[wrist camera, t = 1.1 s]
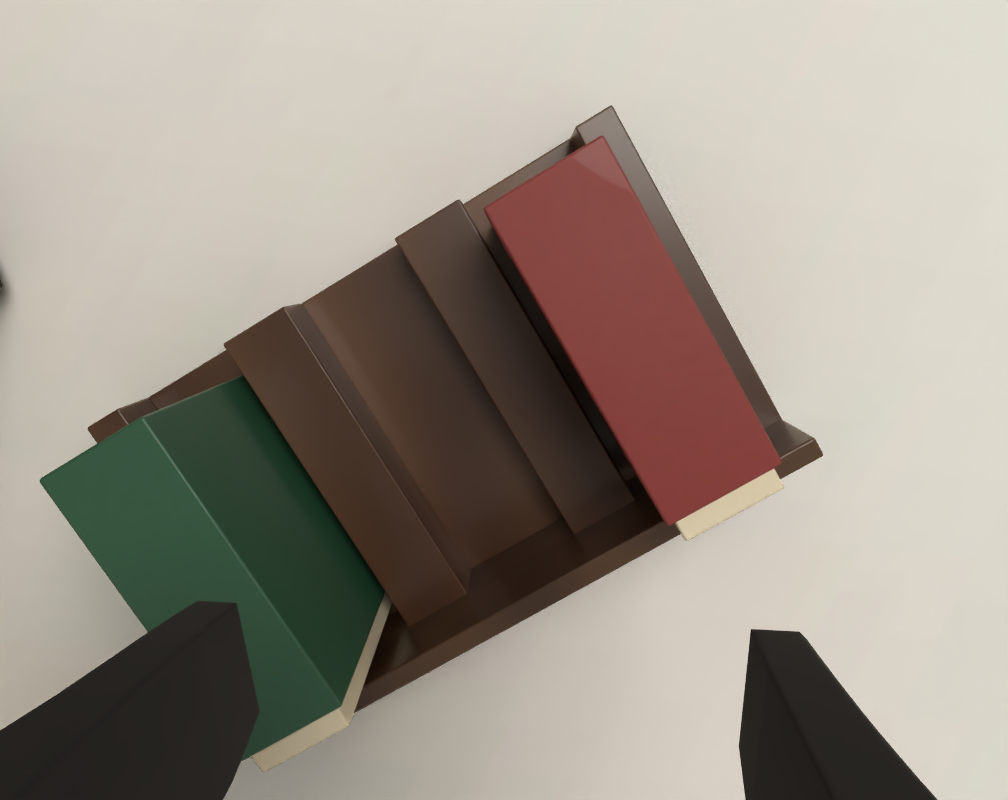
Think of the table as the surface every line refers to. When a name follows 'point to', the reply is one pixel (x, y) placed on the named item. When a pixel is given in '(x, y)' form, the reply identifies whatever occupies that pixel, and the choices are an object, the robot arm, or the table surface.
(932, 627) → the table surface
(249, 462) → the green book
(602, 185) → the burgundy book
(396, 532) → the book rack
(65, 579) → the table surface
